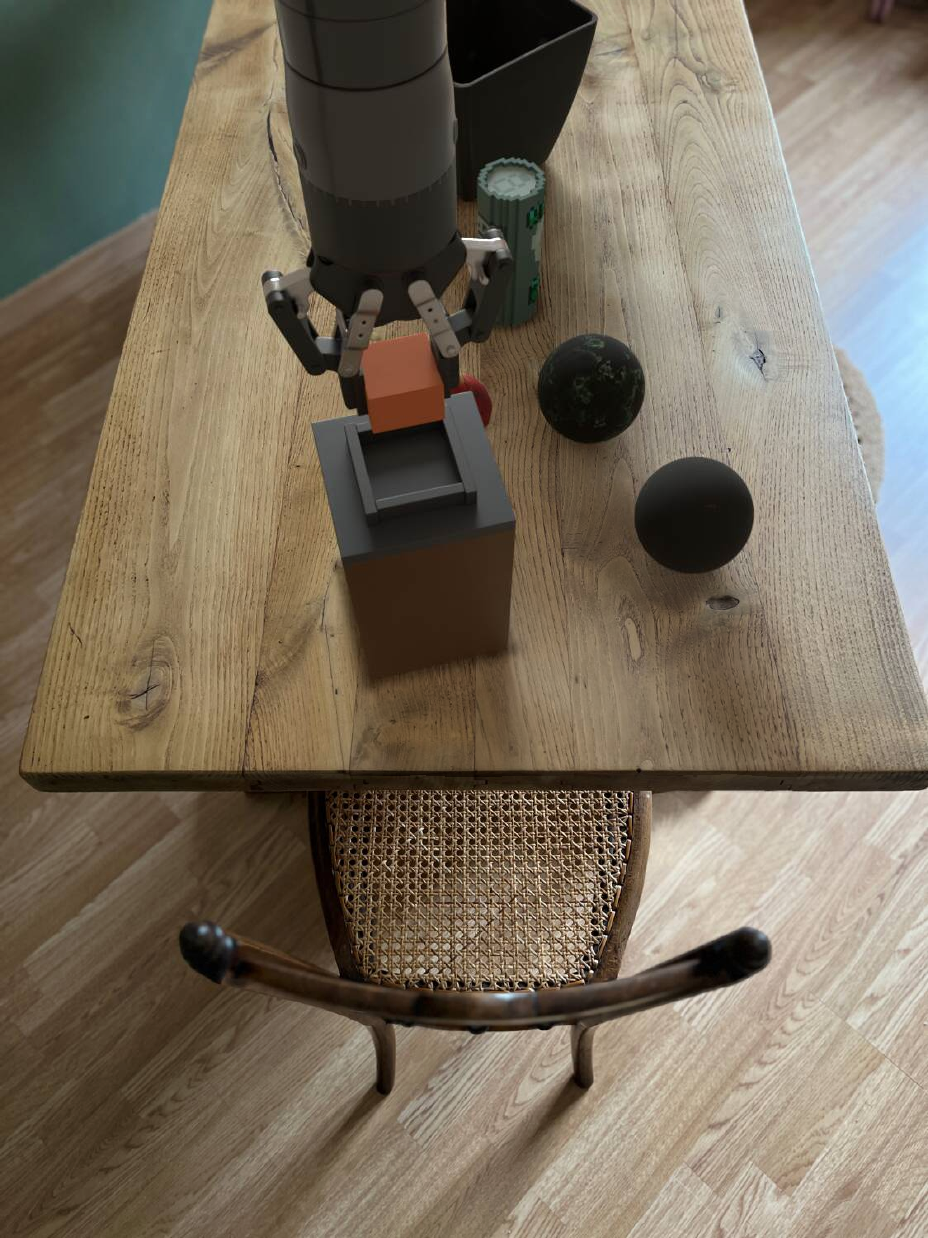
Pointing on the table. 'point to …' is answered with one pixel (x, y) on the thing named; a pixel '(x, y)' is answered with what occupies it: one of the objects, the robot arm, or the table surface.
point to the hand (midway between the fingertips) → (401, 396)
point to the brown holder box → (421, 536)
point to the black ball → (694, 515)
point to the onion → (476, 396)
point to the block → (402, 383)
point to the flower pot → (513, 78)
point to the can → (514, 228)
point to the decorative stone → (591, 388)
